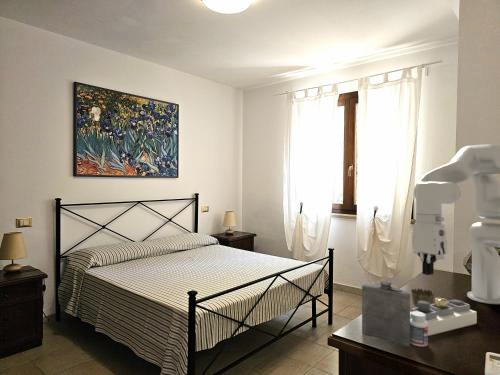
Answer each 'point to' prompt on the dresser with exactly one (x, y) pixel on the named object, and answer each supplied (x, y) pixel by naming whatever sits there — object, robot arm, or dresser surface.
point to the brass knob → (441, 303)
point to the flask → (386, 313)
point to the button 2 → (457, 302)
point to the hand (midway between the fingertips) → (427, 273)
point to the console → (448, 317)
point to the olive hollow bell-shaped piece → (422, 296)
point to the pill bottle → (418, 329)
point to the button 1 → (424, 306)
